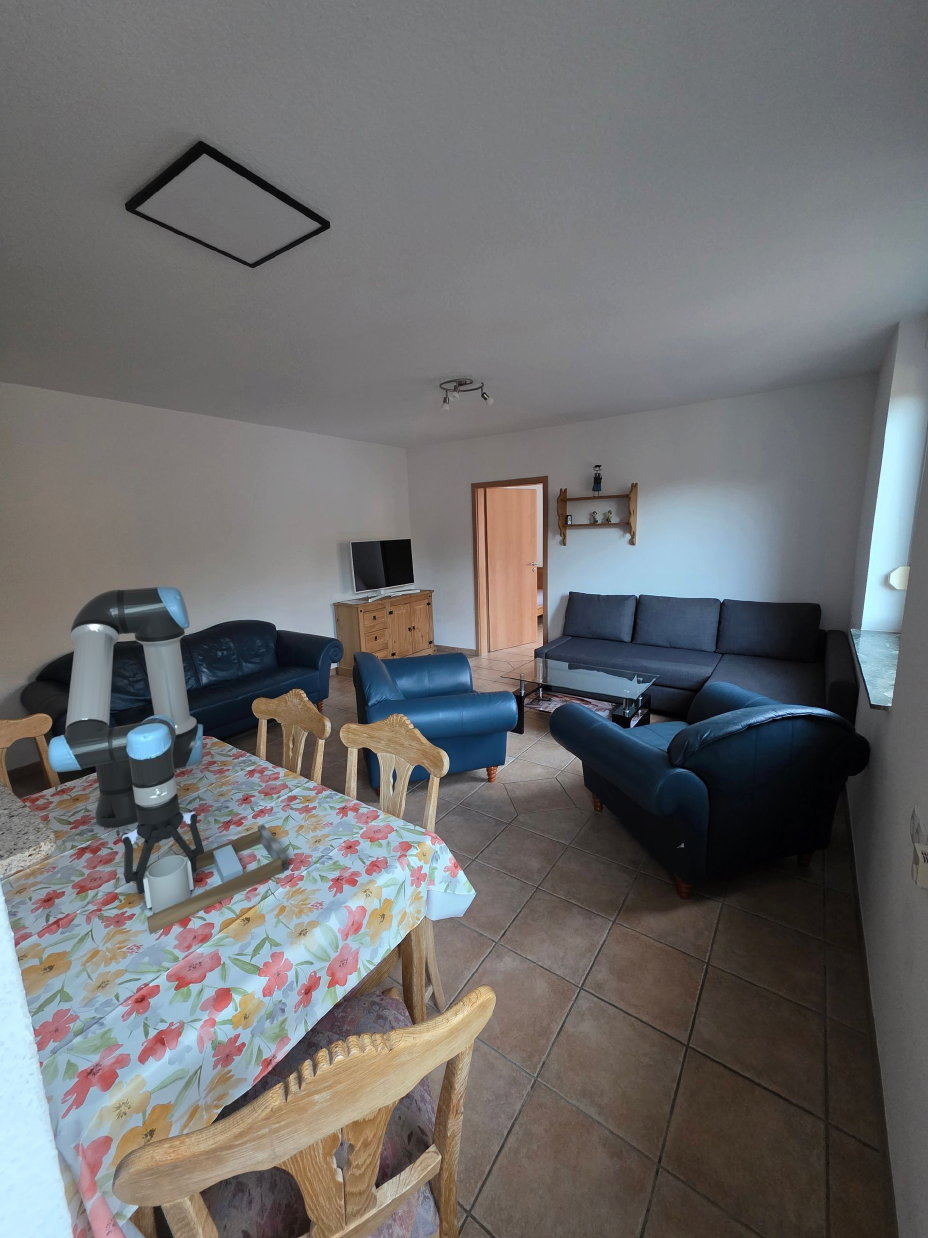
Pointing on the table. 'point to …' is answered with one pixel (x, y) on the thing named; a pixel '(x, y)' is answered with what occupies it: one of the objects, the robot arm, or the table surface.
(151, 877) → the cup
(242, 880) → the channel
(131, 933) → the table surface
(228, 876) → the block
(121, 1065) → the table surface
